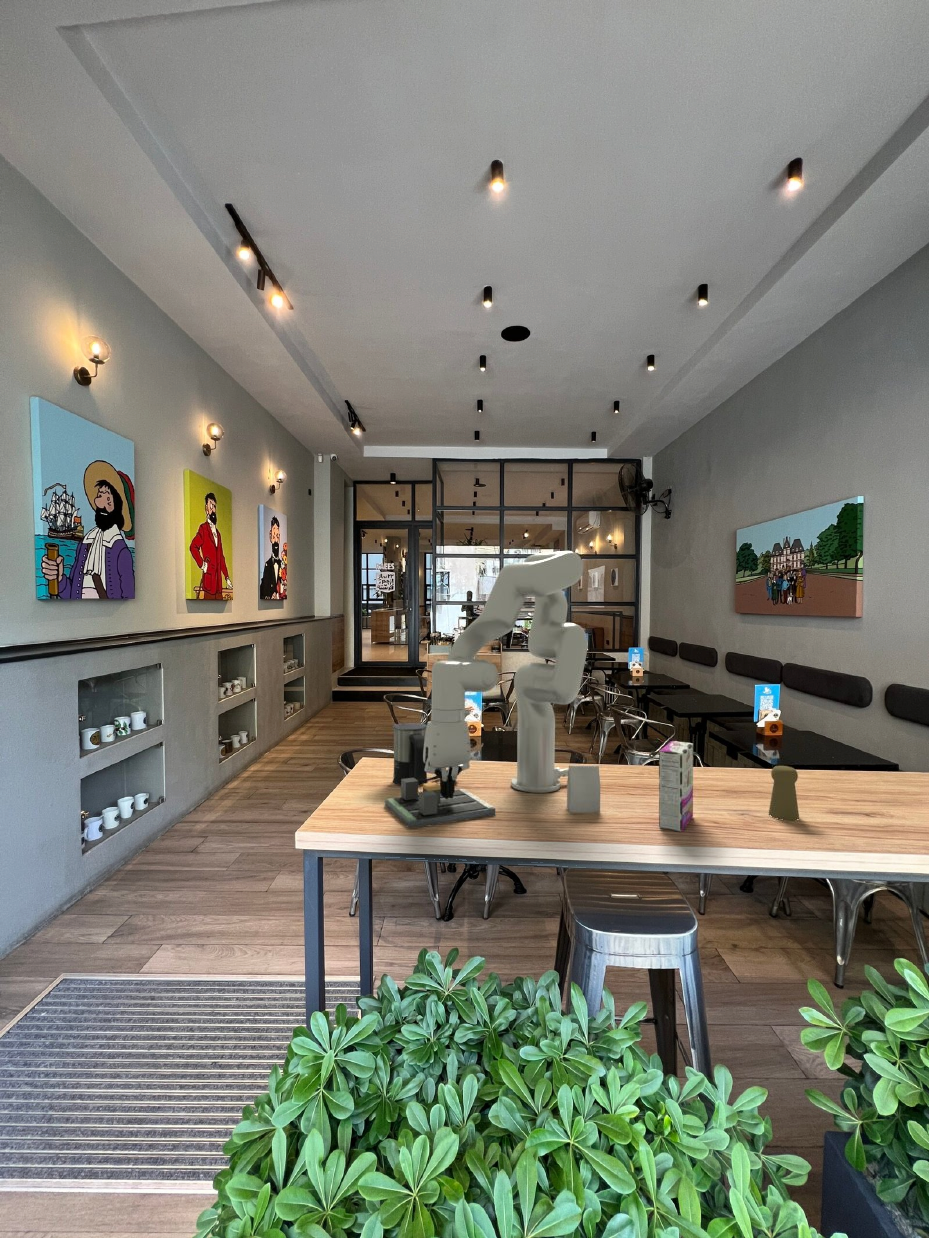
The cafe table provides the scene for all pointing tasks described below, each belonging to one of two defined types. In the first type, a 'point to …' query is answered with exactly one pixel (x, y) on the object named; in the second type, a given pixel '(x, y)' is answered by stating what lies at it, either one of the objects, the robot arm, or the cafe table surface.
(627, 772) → the cafe table surface
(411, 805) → the panel
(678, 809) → the candy bar box
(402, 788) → the block
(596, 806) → the grey boxy piece
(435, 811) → the breaker near
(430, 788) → the block
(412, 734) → the milk frother
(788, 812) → the cork
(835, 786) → the cafe table surface
